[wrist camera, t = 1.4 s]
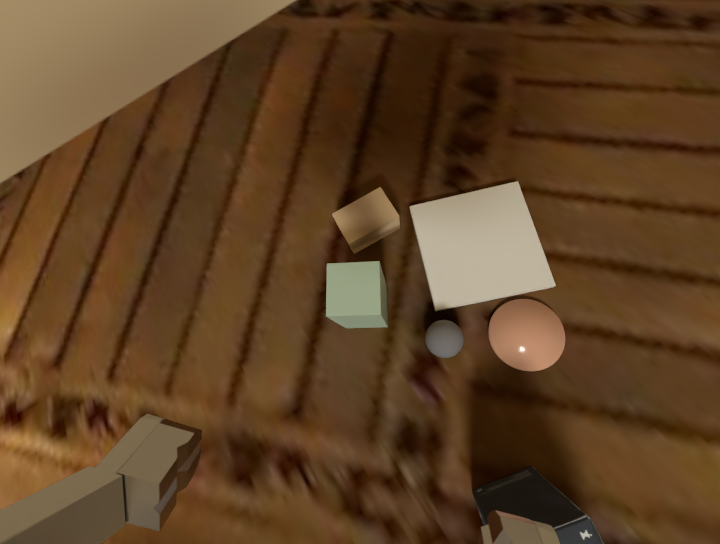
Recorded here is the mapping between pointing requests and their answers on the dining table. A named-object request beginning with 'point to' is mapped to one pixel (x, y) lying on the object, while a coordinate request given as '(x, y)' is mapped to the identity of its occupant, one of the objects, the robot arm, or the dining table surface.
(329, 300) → the sage block
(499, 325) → the peach flat disc
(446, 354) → the rubber ball
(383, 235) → the oak block
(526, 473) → the small box
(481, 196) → the beige mat
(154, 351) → the dining table surface
